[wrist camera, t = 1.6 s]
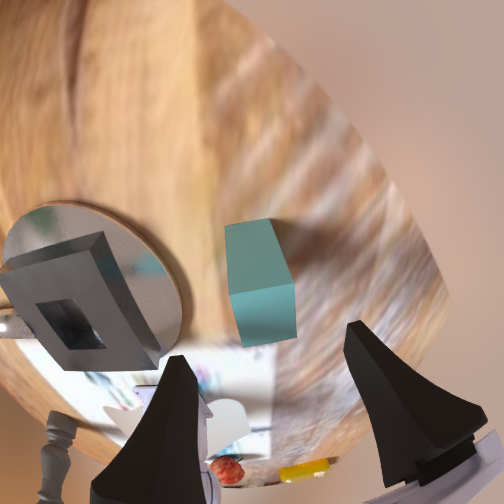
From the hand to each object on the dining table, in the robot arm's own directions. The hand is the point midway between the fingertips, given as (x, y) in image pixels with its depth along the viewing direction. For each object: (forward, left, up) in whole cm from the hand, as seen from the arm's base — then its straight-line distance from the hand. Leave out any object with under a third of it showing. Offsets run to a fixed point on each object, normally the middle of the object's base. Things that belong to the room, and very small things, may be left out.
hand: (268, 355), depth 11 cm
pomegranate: (-52, +13, -10) cm, 55 cm away
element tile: (-83, -5, -10) cm, 84 cm away
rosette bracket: (-2, +18, -9) cm, 20 cm away
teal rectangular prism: (0, 0, -9) cm, 9 cm away
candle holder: (-30, +41, -10) cm, 52 cm away
